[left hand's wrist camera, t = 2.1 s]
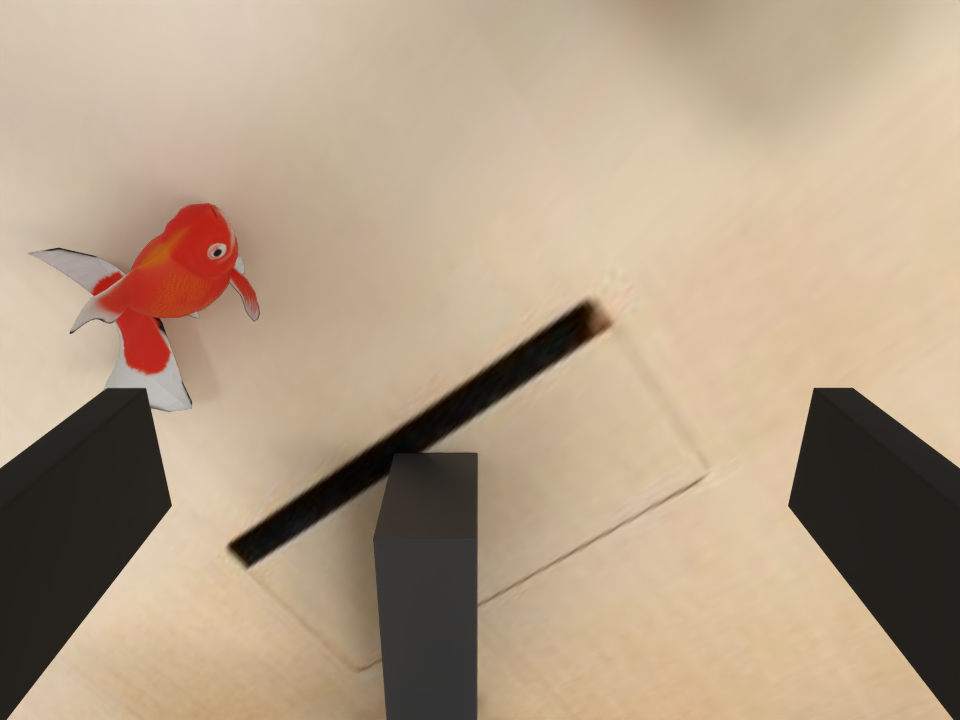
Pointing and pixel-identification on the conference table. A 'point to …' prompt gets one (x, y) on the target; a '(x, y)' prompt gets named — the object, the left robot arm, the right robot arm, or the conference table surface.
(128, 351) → the fish
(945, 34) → the conference table surface
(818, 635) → the conference table surface
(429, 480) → the box
